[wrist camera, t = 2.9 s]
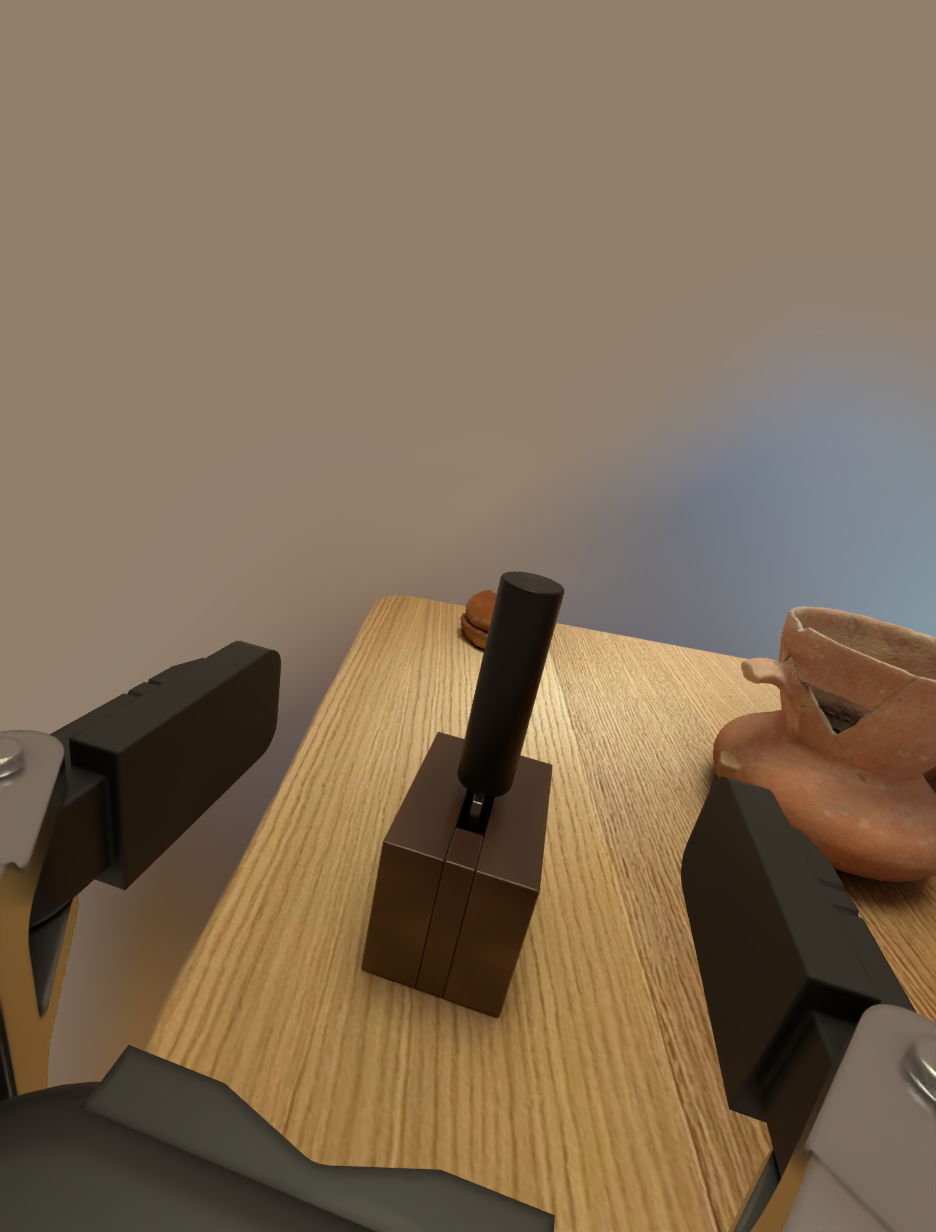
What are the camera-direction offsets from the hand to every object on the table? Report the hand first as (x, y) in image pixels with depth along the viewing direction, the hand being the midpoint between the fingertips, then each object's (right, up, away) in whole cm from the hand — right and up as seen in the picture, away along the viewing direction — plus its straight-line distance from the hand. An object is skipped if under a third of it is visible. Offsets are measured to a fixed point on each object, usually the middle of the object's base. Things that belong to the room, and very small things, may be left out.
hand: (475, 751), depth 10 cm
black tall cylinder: (-1, -12, +16) cm, 20 cm away
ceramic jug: (+24, -12, +28) cm, 40 cm away
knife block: (-1, -12, +16) cm, 20 cm away
